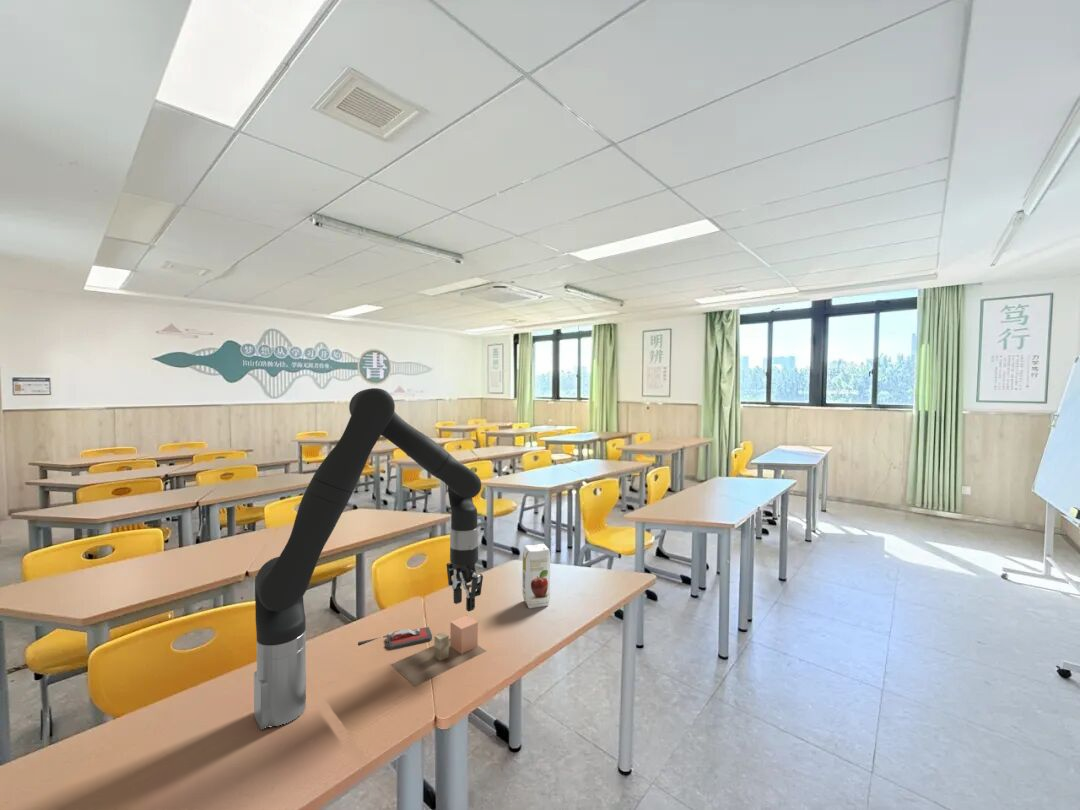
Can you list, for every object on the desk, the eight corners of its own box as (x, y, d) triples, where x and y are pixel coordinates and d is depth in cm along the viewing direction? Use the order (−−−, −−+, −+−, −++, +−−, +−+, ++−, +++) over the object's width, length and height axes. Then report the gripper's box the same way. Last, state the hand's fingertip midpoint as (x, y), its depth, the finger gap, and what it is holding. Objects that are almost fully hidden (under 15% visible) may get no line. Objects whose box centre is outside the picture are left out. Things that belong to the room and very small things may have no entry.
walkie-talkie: (430, 631, 132) (357, 646, 124) (430, 616, 132) (357, 631, 124) (436, 646, 124) (359, 664, 116) (436, 630, 124) (359, 647, 116)
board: (414, 692, 104) (414, 663, 104) (390, 670, 112) (390, 642, 112) (486, 656, 119) (486, 630, 119) (460, 639, 127) (460, 614, 127)
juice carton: (520, 600, 152) (521, 544, 152) (544, 596, 155) (545, 542, 154) (526, 610, 145) (527, 551, 144) (552, 606, 147) (552, 549, 147)
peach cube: (461, 654, 117) (461, 629, 117) (450, 646, 121) (450, 622, 121) (477, 646, 121) (477, 622, 121) (466, 638, 124) (466, 615, 124)
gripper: (437, 541, 123) (437, 602, 123) (468, 554, 113) (468, 620, 113) (460, 535, 128) (460, 594, 128) (491, 547, 118) (491, 611, 118)
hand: (464, 606), depth 121 cm, fingers open, 5 cm apart
